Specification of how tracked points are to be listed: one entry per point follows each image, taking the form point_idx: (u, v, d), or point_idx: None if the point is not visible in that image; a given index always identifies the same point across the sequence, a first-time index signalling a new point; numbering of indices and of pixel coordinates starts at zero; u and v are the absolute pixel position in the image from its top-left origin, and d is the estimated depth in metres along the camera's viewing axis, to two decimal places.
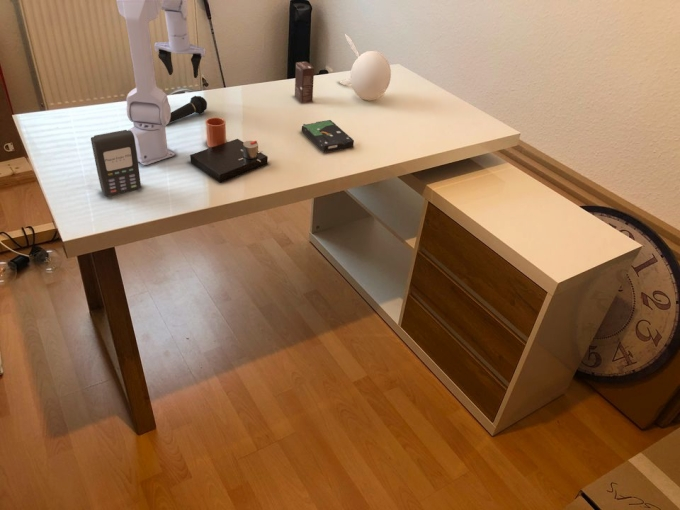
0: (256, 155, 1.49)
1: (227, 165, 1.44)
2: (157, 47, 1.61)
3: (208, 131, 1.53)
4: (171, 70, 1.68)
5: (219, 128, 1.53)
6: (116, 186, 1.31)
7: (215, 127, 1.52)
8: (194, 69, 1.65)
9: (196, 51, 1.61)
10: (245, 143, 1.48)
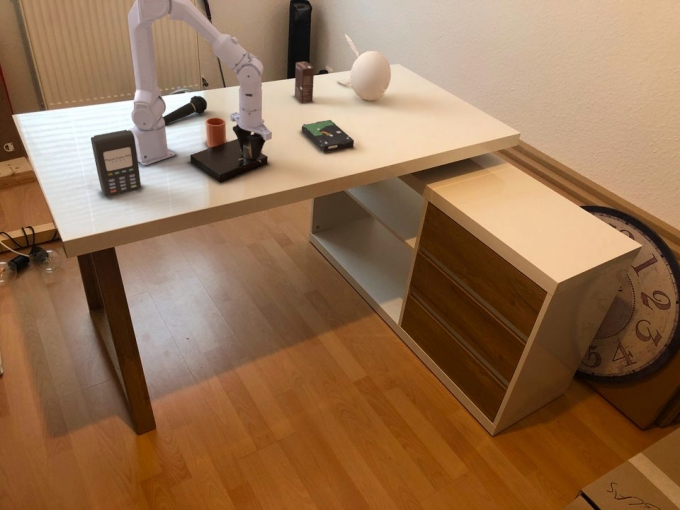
0: None
1: (227, 165, 1.44)
2: (232, 117, 1.47)
3: (208, 131, 1.53)
4: None
5: (219, 128, 1.53)
6: (116, 186, 1.31)
7: (215, 127, 1.52)
8: (252, 148, 1.45)
9: (259, 132, 1.41)
10: (245, 143, 1.48)
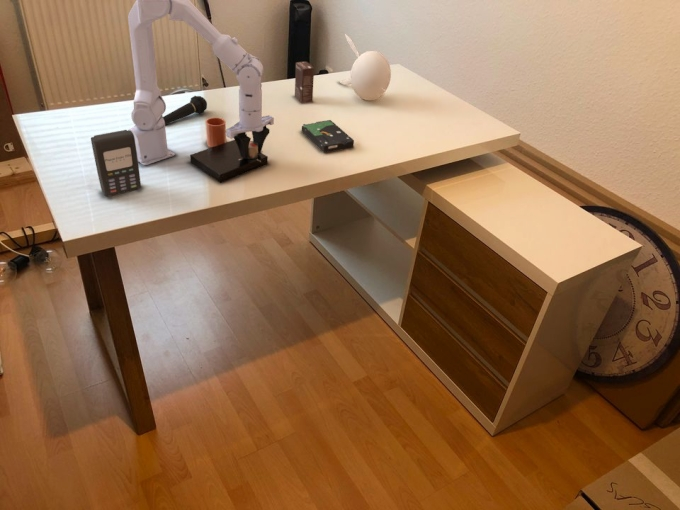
0: None
1: (227, 165, 1.44)
2: None
3: (208, 131, 1.53)
4: None
5: (219, 128, 1.53)
6: (116, 186, 1.31)
7: (215, 127, 1.52)
8: None
9: None
10: (251, 141, 1.49)
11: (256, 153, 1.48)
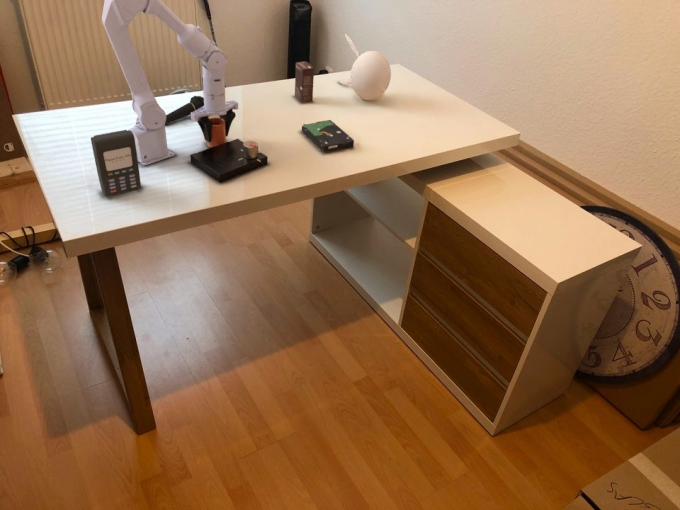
0: (246, 155, 1.48)
1: (227, 165, 1.44)
2: None
3: None
4: None
5: (219, 128, 1.53)
6: (116, 186, 1.31)
7: (215, 127, 1.52)
8: None
9: None
10: (251, 141, 1.49)
11: (256, 153, 1.48)
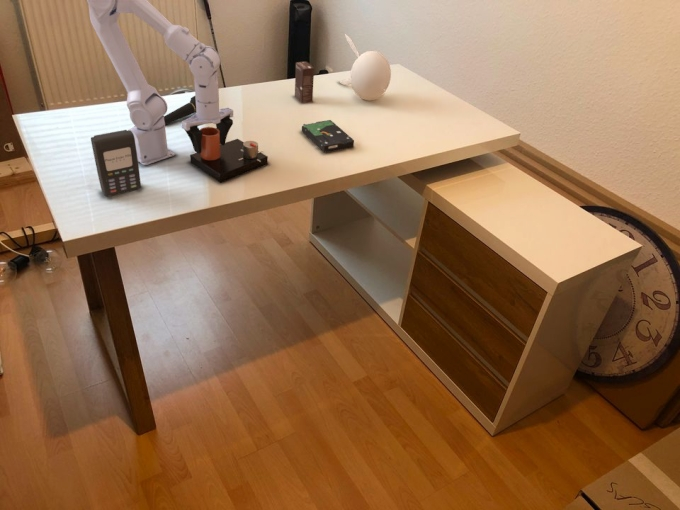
0: (246, 155, 1.48)
1: (227, 165, 1.44)
2: None
3: (201, 141, 1.43)
4: (220, 140, 1.48)
5: (213, 138, 1.42)
6: (116, 186, 1.31)
7: (208, 137, 1.42)
8: None
9: None
10: (251, 141, 1.49)
11: (256, 153, 1.48)
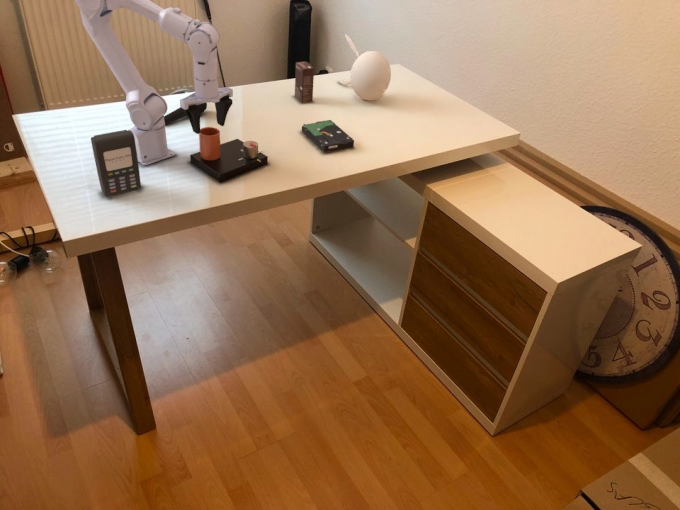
0: (246, 155, 1.48)
1: (227, 165, 1.44)
2: None
3: (201, 141, 1.43)
4: (219, 120, 1.44)
5: (213, 138, 1.42)
6: (116, 186, 1.31)
7: (208, 137, 1.42)
8: None
9: None
10: (251, 141, 1.49)
11: (256, 153, 1.48)
